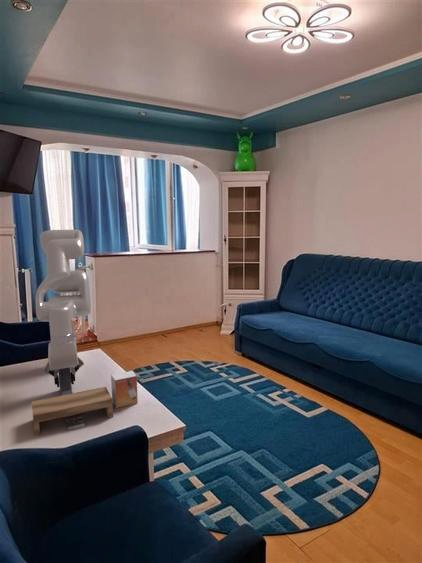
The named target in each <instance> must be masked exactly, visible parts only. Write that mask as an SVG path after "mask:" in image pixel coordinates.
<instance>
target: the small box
mask: <svg viewBox="0 0 422 563" xmlns="http://www.w3.org/2000/svg"><path fill="white" fill-rule="evenodd" d="M137 377H138V376H137V375H136V374H135V372H134V371H133V370H129V371H124V372H120V373H114V374H113V373H112V374H110V378H111V379H110V380H111V381H110V383H111V384H110V385H111V398H112V405H114V407H115V408H116V409H117V408H122V407H126V406H131V405H132V406H133V405H136V404H138V378H137Z"/></svg>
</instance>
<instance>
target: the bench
mask: <svg viewBox="0 0 422 563" xmlns="http://www.w3.org/2000/svg"><path fill="white" fill-rule="evenodd" d="M113 405H114V404H113V402H112V395H111V394H110V391H109V390H108V387H107V386H104V387H103V386H102V387H98V388H93V389H88V390H82V391H76V392H72V394H67V395H57V396H52V397H46V398H43V399H42V398H41V399H38V400H32V401H31V410H32V420H33V421H32V422H33V432H34V436H38V435H41V431H40V430H41V429H40V422H45V421H49V420H50V421H51V420H54V419H59V418H63V417H67V416H68V417H70V416H69V415H73V414H78V415H79V414H81V413H87V412H90V411H97V410H100V409H104V411H105V413H106V415H107V417H108V418H109V419H110V418H114V410H113V409H114V408H113V407H114V406H113ZM73 416H74V415H73Z"/></svg>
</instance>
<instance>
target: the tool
mask: <svg viewBox="0 0 422 563" xmlns="http://www.w3.org/2000/svg"><path fill="white" fill-rule="evenodd" d="M58 377H59V387H58V388H59V392H60V396H62V395H67V394H72V393H73V390H72V389H73V386H72V383H71V371H70V367H69V368H63V369H59V370H58ZM76 415H79V413H78V414H73V415H69V416H66V417H72V416H76Z"/></svg>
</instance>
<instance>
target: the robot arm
mask: <svg viewBox="0 0 422 563" xmlns="http://www.w3.org/2000/svg"><path fill="white" fill-rule="evenodd" d="M39 240H40V242H39V243H40V245H41V249H42V251H43V253H44V255H45V257H46V258H45V260H46V277H45V278H44V280H42V281H41V283H40V284H39V286H38V288H37V290H36V294H35V314H36V318H37V320H38V321H39V322H47V323H48V322H49V323H48V324H49V334H50V342H49V343H48V348H47V350H48V351H47V352H48V354H47V355H48V356H47V358H48V360H47V363H46V364H45V366H43V369H42V371H43V372H45V373H47V374H49V375H50V376H52V377H53V379H54V385H56V387H57V388H59V375H58V370H59V369H63V368H69V367H70V372H71V385H75V383H74V382H76V374H77V372H78V371H79V370H80V368H81V367H83V366H84V365H85V363H84V361H83V360H82V359H81V358H80V357H79V356H78V351H77V349H78V348H77V333H76V326H75V324H74V322H72V320H73V319H74V318H78V317H86V316H89V315H90V314H91V312H92V301H91V291H90V290H91V288H90V281H89V276H88V273H87V272H86V271H84V270H80V269H79V270H71V266H70V260H81V259H83V257H84V255H85V242H84V241H85V239H84V235H83V233H82V231H81V230H80V229H48V230H45V231H42V232H41V233H40V236H39ZM49 290H51V291H52V292H53V293H55V294H66V295H56V296H53V297H51V298H50V299H48V301H44V299H45V298H44V297H45V294H46V293H47V291H49ZM69 293H71V294H69ZM72 293H78V294H72ZM67 294H68V295H67Z"/></svg>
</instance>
